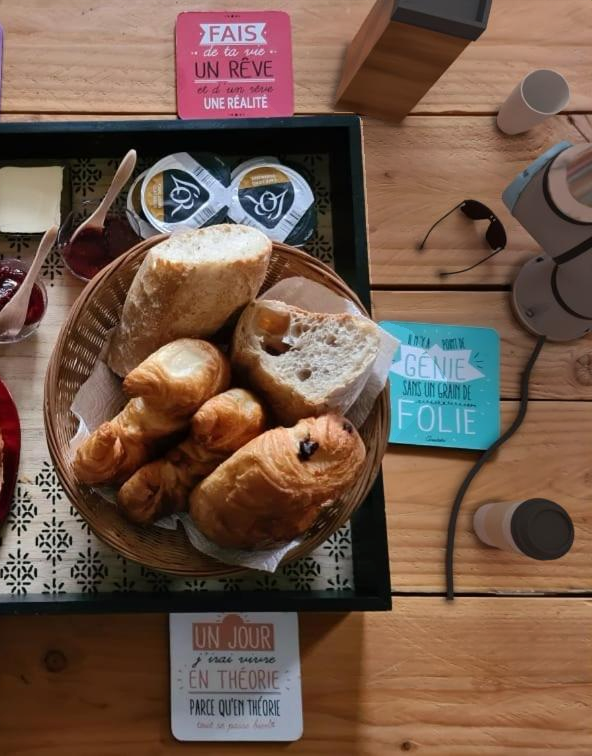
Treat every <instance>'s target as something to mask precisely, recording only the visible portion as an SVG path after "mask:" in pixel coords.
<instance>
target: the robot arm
mask: <svg viewBox="0 0 592 756" xmlns="http://www.w3.org/2000/svg"><path fill="white" fill-rule="evenodd" d="M501 202H502V203H503V204H504V206H505V207H506V208H507V210H508V211H509V213H510V215H511V217H513V218H514V219H515V220H516V221H517V222H518V223H519V224H520V225H521V227H522V228H523V229H524V230H525V231H526V232H527V233H528V234H529V235H530V236H531V237H532V239H533V240H534V241H535V242H536V243H537V245H539V246H540V247H541V249H542V250H543V251H544V252H545V253H542V254H539V255H536V256H534V257H532V258H531V259H529V260H527V261H525V262H524V263H523V264H521V265H520V266H519V267H518V268H517V270H516V271H515V273H514V274H513V276H512V278H511V281H510V283H509V289H508V301H509V306H510V309H511V311H512V314H513V316H514V318H515V319H516V321H517V322H518V324H519V325H520V326H521V327H522V328H523V329H524V330H525V331H526V332H527V333H529V334H531V335H532V336H534V337H536V338H538V340H537V342H536V345H535V346H534V349H533V351H532V353H531V355H530V358H529V359H528V361H527V363H526V365H525V368H524V371H523V374H522V380H521V398H520V399H521V400H520V408H519V412H518V415H517V416H516V419H515V421H514V423H513V424H512V425H511V427H510V428H509V429H508V430H507V431H506V432H505V433H504V434H503V435H502V436H501V437H499V438H498V439H497V440H495V441H494V443H492V444H491V445H490V446H489V447H488V448H487V449H486V450H485V452H484V453H483V454H482V455H481V457H480V458H479V459H478V461H476V463H475V464H474V465H473V466H472V468H471V470H470V471H469V472H468V473H467V475H466V477H465V478H464V480H463V482H462V483H461V486H460V488H459V490H458V492H457V494H456V497H455V500H454V501H453V502H454V503H453V506H452V509H451V513H450V518H449V523H448V531H447V542H446V555H445V570H446V571H445V573H446V600H447V601H454V600H455V599H454V598H455V595H454V592H455V591H454V590H455V589H454V545H455V535H456V526H457V520H458V515H459V511H460V508H461V505H462V501H463V499H464V497H465V494H466V492H467V490H468V488H469V486H470V484H471V483H472V481H473V480H474V478H475V477H476V475H477V474H478V472H479V471H480V470H481V469H482V468H483V466H484V464H485V463H486V462H487V461H488V460H489V458H490V457H491V456H492V455H493V453H494V452H495V451H496V450H497V449H498V448H499V447H501V445H503V444H504V443H506V441H508V440H509V439H510V438H511V437H513V435H514V434H515V433H516V432H517V430H518V429H520V427H521V425H522V424H523V422H524V419H525V417H526V414H527V410H528V404H529V383H530V377H531V373H532V370H533V367H534V365H535V363H536V361H537V360H538V358H539V355H540V353H541V351H542V348H543V346H544V345H545V342H546V341H547V342H553V343H561V342H562V343H563V342H568V341H573V340H575V339H578V338H581V337H583V336H585V335H587V334H588V333H590V332H591V331H592V142H583V143H578V144H573V143H571V142H570V141H568V140H561V141H559V142H557V143H556V144H554V145H553V146H551V147H550V148H549V149H547V150H546V151H544V153H542V154H541V155H540V156H538V157H537V158H535V160H534V161H533V162H531V163H530V164H529V165H528V166H527V167H525V168H524V169H523V170H522V172H521V173H519V174H518V175H517V176H515V178H513V179H512V180H511V181H510V182H509V183H508V185H506V187H505V188H504V189H503V191H502V193H501Z"/></svg>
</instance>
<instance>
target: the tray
mask: <svg viewBox="0 0 592 756" xmlns="http://www.w3.org/2000/svg"><path fill="white" fill-rule="evenodd" d="M492 4H493V0H394V4H393V8H392V12H391V16H390V20H392V21H396V22H399V23H403V24H407V25H411V26H415V27H419V28H423V29H427V30H431V31H435V32H439V33H443V34H446V35H450V36H454V37H458V38H462V39H466V40H470V41H472V42H473V43H474V42H477V40H478V39H480V37H481V36H482V35H483V33H485V32H486V31H487V27H488V23H489V17H490V14H491V9H492Z"/></svg>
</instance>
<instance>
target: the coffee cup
mask: <svg viewBox="0 0 592 756" xmlns="http://www.w3.org/2000/svg"><path fill="white" fill-rule="evenodd" d="M472 524H473V529H474V532H475V534H476V535H477V537H478V538H479V539H480V540H481V542H483V543H484V544H486V545H488V546H491V547H495V548H498V549H499V550H502V551H506V552H510V553H512V554H515V555H519V556H523V557H526V558H530V559H532V560H536V561H542V562H543V561H544V562H546V561H555V560H559V559H561V558H562V557H564V556H565V555H567V554H568V553H569V552H570V550H571V548H572V547H573V544H574V541H575V526H574V522H573V520H572V518H571V516H570V515H569V513H568V511H567V510H566V509H564V507H563V506H561V505H560V504H558V503H557V502H555V501H553V500H550V499H547V498H544V497H532V498H529V499H528V498H526V499H515V500H505V501H499V502H492V503H491V502H490V503H485V504H483V505H482V506H480V507H479V508H478V509H477V511H476V512H475V513H474V516H473V522H472Z"/></svg>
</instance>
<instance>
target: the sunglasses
mask: <svg viewBox="0 0 592 756" xmlns="http://www.w3.org/2000/svg"><path fill="white" fill-rule="evenodd" d="M457 209H459V210H460V211H461V212H462V213H463V214H464V216H465V217H467V218H468V219H470V220H472V221H484V220H485V221H486V220H488V221H489V225H488V227H487V229H486V231H485V234H484V237H485V241H486V242H487V245H488V246H489V248H490V249H491V250H492V251H493V253H491V254H489V255H488V256H487V257H484V258H483V259H482V260H480V261H478V262H477V263H475V264H474V265H472V266H470V267H468V268H466V269H465V268H464V269H462V270H459V271H451V272H440V274H439V275H440V276H447V275H455V274H460V273H464V272H468V271H470V270H472V269H474V268H476V267H478V266H479V265H481V264H482V263H484V262H485V261H487V260H489V259H491V258H493V257H494V256H495V255H497V254H499V253H500V252H502V251H504V250H505V249H506V248H505V247H506V246H507V243H508V237H507V233H506V232H507V231H506V229H505V227H504V224H503V223H502V220H500V219H499V217H498V215H497V214H496V213H494V211H493V210H492V209H491V208H490V207H489V206H487V205H486V204H485V203H483V202H481V201H478V200H476V199H463V200H462V201H461V202H460V203H458V204H457V205H456V206H455V207H454V208H453V209H451V210H450V211H449V212H448V213H446V214H445V215H443V216H442V217H441V218H440V219H438V220H437V221H436V222H435V223H434V224H433V225H432V226H431V228H430V229H429V230H428V232H427V233H426V235H425V237H424V239H423V241H422V243H421V244H420V247H419V250H422V249H423V248H424V246H425V243H426V241H427V239H428V237H429V235H430V234H431V232H432V231H433V230H434V228H435V227H436V226H437V225H439V223H440V222H442V221H443V220H444V219H446V217H449V215H451V214H452V213H453V212H454V211H456V210H457Z"/></svg>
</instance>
